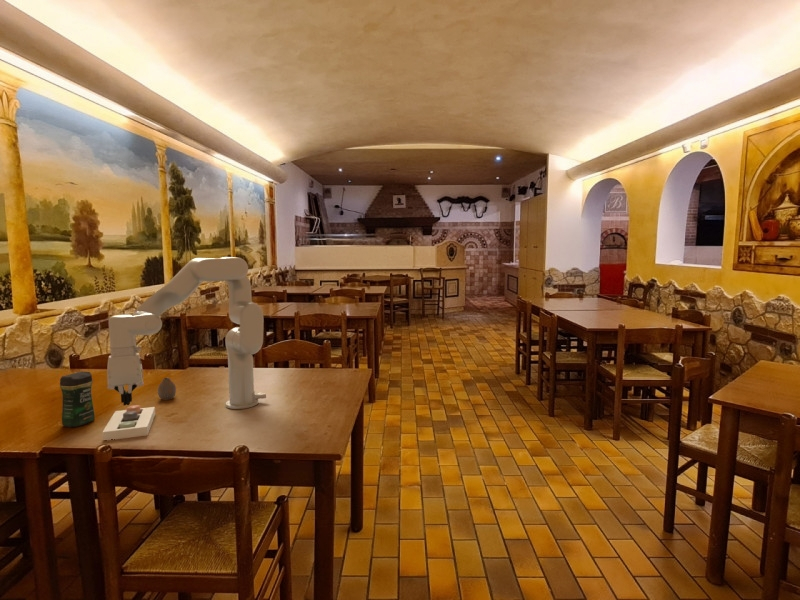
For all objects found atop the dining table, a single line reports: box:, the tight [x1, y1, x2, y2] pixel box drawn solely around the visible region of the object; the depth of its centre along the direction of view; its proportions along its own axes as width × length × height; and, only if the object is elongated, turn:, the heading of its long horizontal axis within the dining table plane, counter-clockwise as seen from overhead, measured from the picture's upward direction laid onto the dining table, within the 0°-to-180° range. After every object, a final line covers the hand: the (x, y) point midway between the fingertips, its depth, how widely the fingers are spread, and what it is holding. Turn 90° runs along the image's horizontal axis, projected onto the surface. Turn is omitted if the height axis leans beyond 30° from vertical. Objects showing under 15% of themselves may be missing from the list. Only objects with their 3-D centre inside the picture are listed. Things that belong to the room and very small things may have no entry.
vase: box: [157, 377, 177, 401], centre depth 196 cm, size 7×7×9 cm
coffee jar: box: [59, 370, 96, 428], centre depth 167 cm, size 10×8×19 cm
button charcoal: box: [122, 411, 139, 422], centre depth 164 cm, size 4×4×3 cm
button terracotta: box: [126, 404, 141, 414], centre depth 170 cm, size 4×4×3 cm
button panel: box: [101, 406, 156, 441], centre depth 164 cm, size 13×22×3 cm, turn 22°
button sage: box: [119, 421, 136, 429], centre depth 158 cm, size 4×4×3 cm
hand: (126, 404), depth 158 cm, fingers closed
